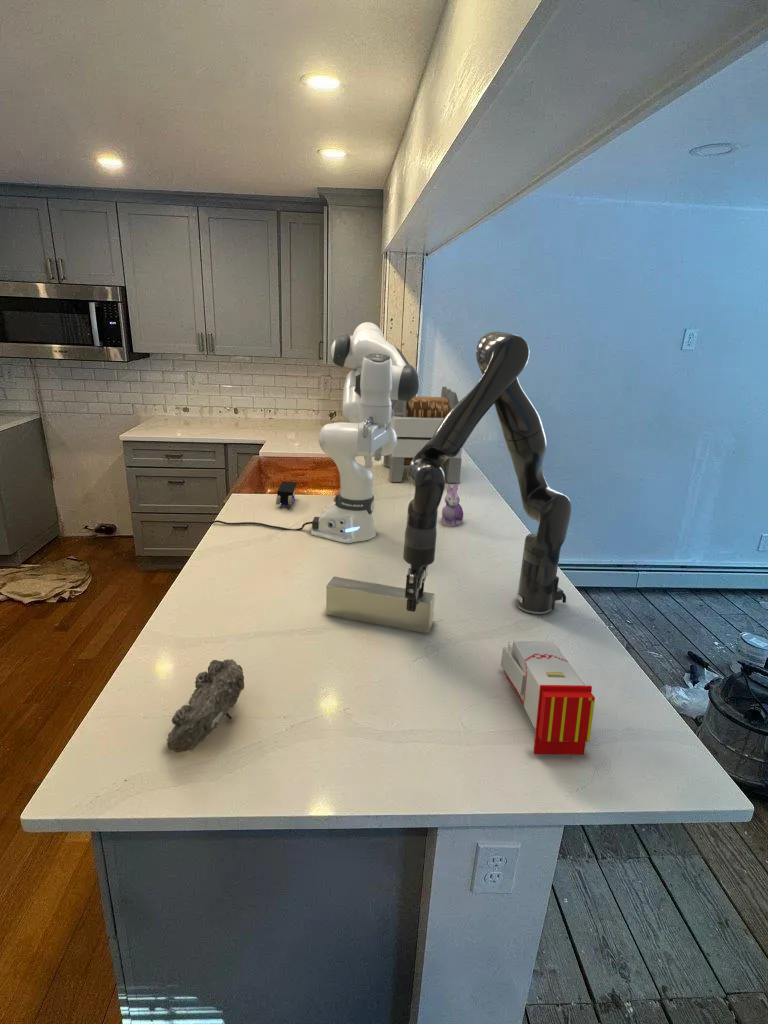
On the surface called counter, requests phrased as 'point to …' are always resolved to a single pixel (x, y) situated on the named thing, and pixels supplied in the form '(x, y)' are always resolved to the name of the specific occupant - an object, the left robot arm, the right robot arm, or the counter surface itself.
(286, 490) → the figurine character
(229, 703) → the fossil
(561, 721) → the toy
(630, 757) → the counter surface
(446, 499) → the figurine
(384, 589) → the bar
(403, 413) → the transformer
